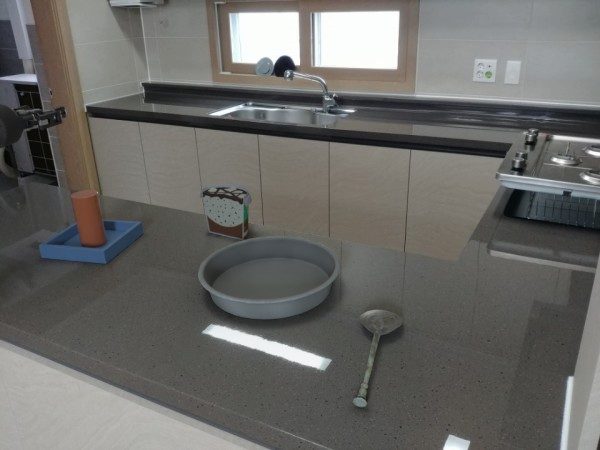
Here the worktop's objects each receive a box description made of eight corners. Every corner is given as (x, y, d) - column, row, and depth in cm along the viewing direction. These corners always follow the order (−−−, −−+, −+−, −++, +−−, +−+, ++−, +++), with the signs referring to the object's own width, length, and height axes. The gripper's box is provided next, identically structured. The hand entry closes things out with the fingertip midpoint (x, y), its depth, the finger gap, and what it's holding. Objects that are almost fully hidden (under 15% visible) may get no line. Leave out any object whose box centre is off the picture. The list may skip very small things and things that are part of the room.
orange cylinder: (76, 247, 112) (65, 197, 107) (90, 236, 116) (80, 189, 112) (98, 249, 110) (87, 199, 106) (111, 238, 115) (102, 190, 111)
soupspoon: (405, 320, 85) (364, 317, 87) (405, 301, 84) (363, 298, 86) (385, 412, 65) (332, 405, 67) (384, 390, 64) (331, 383, 66)
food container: (265, 231, 117) (262, 187, 114) (249, 241, 113) (245, 197, 109) (221, 221, 123) (217, 180, 119) (203, 231, 119) (198, 188, 115)
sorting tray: (41, 257, 109) (38, 245, 108) (85, 228, 122) (82, 217, 121) (106, 264, 105) (103, 251, 104) (143, 233, 118) (141, 221, 117)
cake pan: (287, 244, 111) (286, 224, 109) (369, 291, 92) (370, 268, 91) (177, 282, 98) (174, 260, 96) (247, 345, 79) (245, 319, 77)
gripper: (15, 109, 93) (73, 92, 107) (-52, 108, 96) (12, 91, 111) (26, 151, 96) (80, 129, 110) (-40, 148, 99) (21, 127, 114)
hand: (46, 110), depth 110 cm, fingers open, 8 cm apart
